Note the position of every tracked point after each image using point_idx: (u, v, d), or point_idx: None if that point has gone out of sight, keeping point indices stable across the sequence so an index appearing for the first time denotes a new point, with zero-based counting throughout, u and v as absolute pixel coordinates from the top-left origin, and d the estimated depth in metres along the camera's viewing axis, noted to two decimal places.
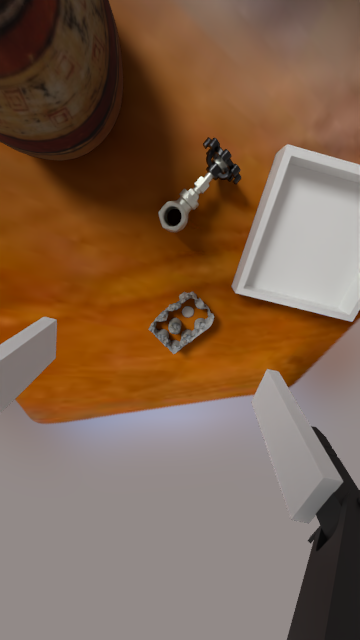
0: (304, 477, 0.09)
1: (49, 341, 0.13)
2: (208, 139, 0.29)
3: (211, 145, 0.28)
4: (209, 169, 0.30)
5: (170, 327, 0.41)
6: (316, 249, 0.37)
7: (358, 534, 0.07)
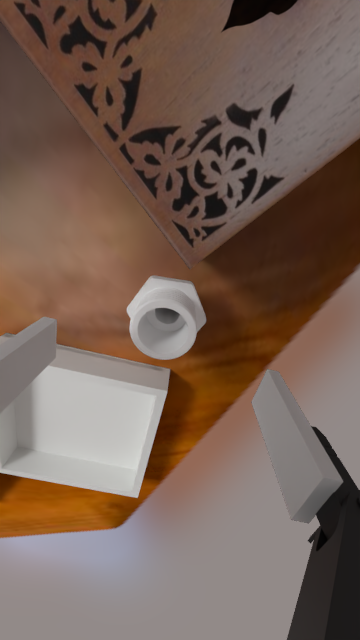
0: (304, 477, 0.09)
1: (49, 341, 0.13)
2: None
3: None
4: None
5: None
6: (87, 421, 0.32)
7: (358, 534, 0.07)
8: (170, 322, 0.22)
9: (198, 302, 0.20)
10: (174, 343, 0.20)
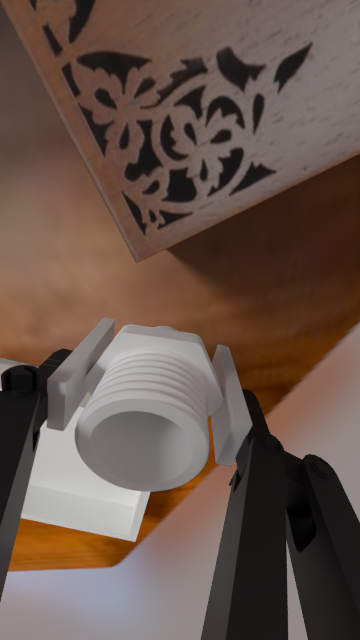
0: (226, 425, 0.10)
1: (109, 339, 0.15)
2: None
3: None
4: None
5: None
6: None
7: (260, 468, 0.08)
8: None
9: (210, 373, 0.11)
10: (166, 451, 0.11)
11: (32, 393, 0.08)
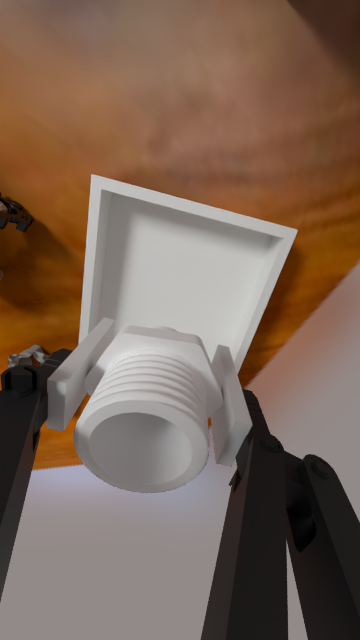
0: (226, 425, 0.10)
1: (109, 339, 0.15)
2: None
3: None
4: None
5: None
6: (180, 300, 0.29)
7: (260, 468, 0.08)
8: None
9: (210, 374, 0.11)
10: (166, 452, 0.11)
11: (32, 393, 0.08)
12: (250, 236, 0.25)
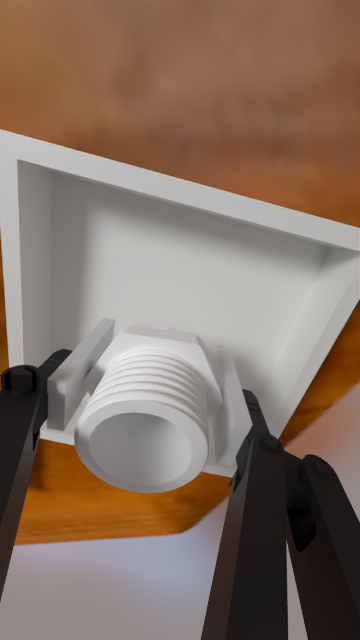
0: (226, 425, 0.10)
1: (109, 339, 0.15)
2: None
3: None
4: None
5: None
6: None
7: (260, 468, 0.08)
8: None
9: (210, 374, 0.11)
10: (166, 452, 0.11)
11: (32, 393, 0.08)
12: (292, 247, 0.15)
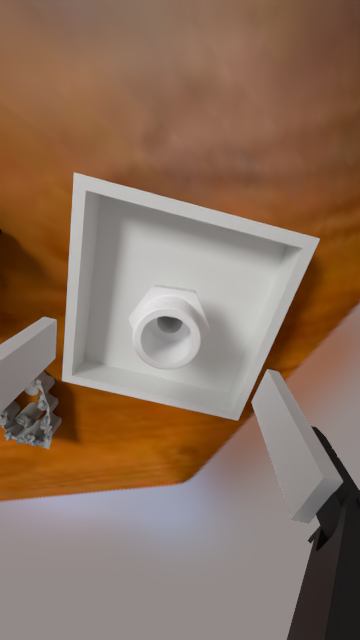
0: (304, 477, 0.09)
1: (49, 341, 0.13)
2: None
3: None
4: None
5: (20, 423, 0.30)
6: None
7: (358, 534, 0.07)
8: (172, 331, 0.21)
9: (201, 311, 0.20)
10: (178, 352, 0.19)
11: None
12: (261, 245, 0.22)
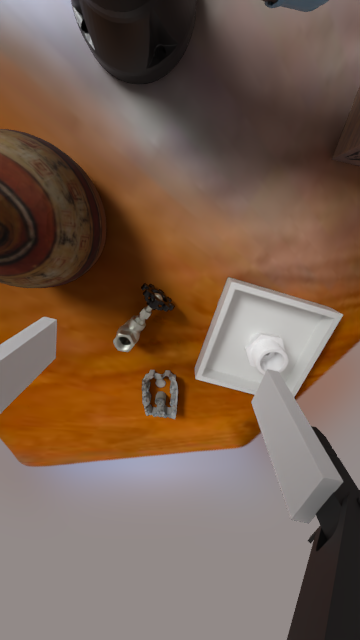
0: (304, 477, 0.09)
1: (49, 341, 0.13)
2: (144, 285, 0.39)
3: (144, 295, 0.37)
4: (148, 304, 0.40)
5: (156, 404, 0.50)
6: None
7: (358, 534, 0.07)
8: (264, 355, 0.42)
9: (283, 346, 0.40)
10: (272, 367, 0.39)
11: None
12: (311, 311, 0.42)
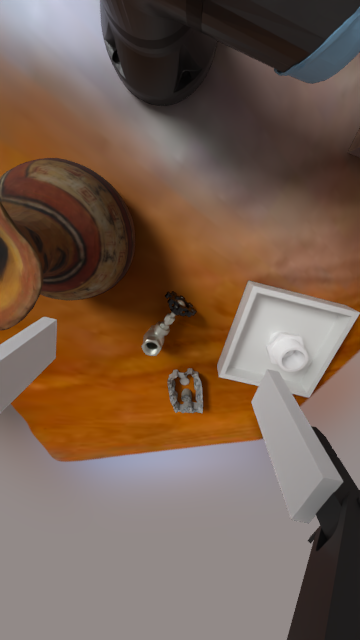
0: (304, 477, 0.09)
1: (49, 341, 0.13)
2: (167, 294, 0.42)
3: (169, 303, 0.40)
4: (172, 311, 0.43)
5: (183, 401, 0.53)
6: None
7: (358, 534, 0.07)
8: None
9: (302, 344, 0.42)
10: (292, 364, 0.42)
11: None
12: (328, 310, 0.45)
